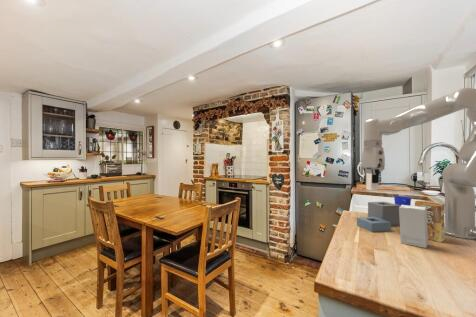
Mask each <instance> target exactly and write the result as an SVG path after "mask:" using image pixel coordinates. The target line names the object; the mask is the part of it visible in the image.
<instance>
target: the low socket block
mask: <svg viewBox="0 0 476 317" xmlns="http://www.w3.org/2000/svg"><path fill="white" fill-rule="evenodd" d="M356 226H358V227H360V228H361V229H364V230H366V231H369V232H371V233H374V232H375V233H376V232H377V233H378V232H391V231H392V226H391V222H388V221H386V220H383V219H380V218H377V217H368V216H364V217H363V216H362V217H361V216H359V217H356Z"/></svg>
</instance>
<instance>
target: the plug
mask: <svg viewBox="0 0 476 317" xmlns="http://www.w3.org/2000/svg"><path fill="white" fill-rule="evenodd" d="M376 170H377V169H376ZM372 175H373V168H372V169H367V171H366V174H365V182H366V183H365V189H366V190H368V191H378V190H379V187H378V186H379V183H372Z"/></svg>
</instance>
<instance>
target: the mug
mask: <svg viewBox="0 0 476 317" xmlns="http://www.w3.org/2000/svg"><path fill="white" fill-rule="evenodd" d="M393 198H394V199H393V200H394V204H397V205H400V206H401V205H409V206H412V205H411V204H412V197H409V196H403V195H402V196H401V195H400V196H399V195H396V196H393Z"/></svg>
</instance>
